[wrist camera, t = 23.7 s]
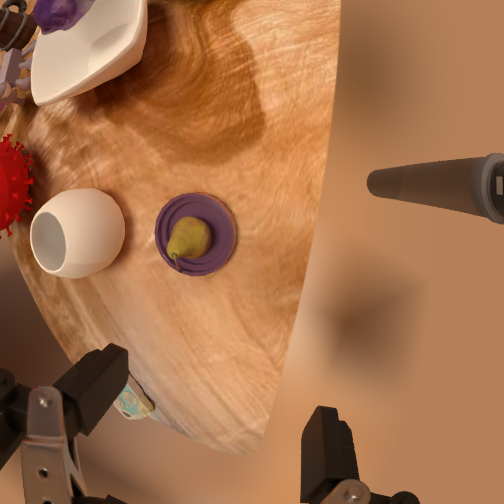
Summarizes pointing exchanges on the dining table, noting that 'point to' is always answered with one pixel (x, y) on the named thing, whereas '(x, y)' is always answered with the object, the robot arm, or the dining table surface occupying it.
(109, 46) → the bowl
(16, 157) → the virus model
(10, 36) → the mug
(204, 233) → the fruit
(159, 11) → the dining table surface
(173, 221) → the dish
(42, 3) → the figurine
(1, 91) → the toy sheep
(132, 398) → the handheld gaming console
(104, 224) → the cup
